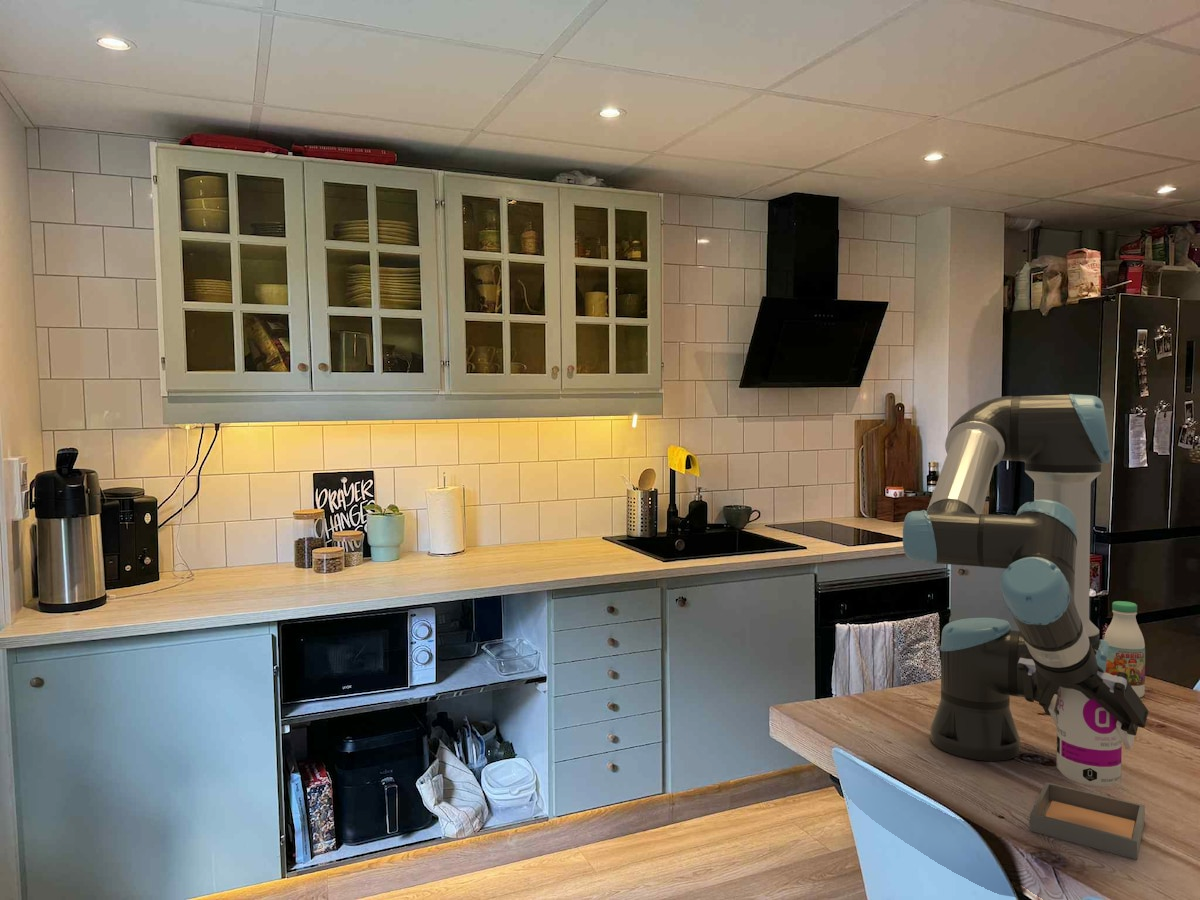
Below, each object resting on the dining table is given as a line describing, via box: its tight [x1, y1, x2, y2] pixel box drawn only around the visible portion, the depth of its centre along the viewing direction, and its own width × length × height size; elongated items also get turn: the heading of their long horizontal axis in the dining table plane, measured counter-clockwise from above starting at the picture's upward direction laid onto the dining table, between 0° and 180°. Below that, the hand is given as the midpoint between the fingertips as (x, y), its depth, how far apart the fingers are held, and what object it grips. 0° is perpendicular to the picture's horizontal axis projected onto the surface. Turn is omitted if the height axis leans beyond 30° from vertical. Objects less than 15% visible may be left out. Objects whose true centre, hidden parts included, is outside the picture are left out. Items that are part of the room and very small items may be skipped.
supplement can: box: [1056, 672, 1123, 787], centre depth 120 cm, size 8×8×15 cm
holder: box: [1029, 781, 1146, 860], centre depth 121 cm, size 13×13×2 cm
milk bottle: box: [1103, 600, 1146, 699], centre depth 178 cm, size 8×8×20 cm
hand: (1096, 732), depth 122 cm, fingers closed on supplement can, 8 cm apart
